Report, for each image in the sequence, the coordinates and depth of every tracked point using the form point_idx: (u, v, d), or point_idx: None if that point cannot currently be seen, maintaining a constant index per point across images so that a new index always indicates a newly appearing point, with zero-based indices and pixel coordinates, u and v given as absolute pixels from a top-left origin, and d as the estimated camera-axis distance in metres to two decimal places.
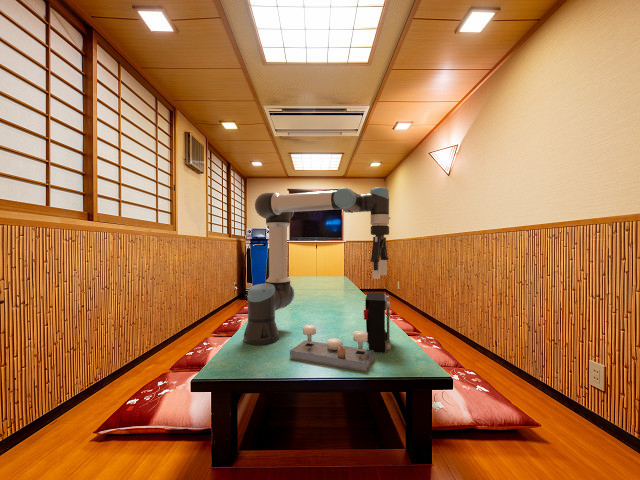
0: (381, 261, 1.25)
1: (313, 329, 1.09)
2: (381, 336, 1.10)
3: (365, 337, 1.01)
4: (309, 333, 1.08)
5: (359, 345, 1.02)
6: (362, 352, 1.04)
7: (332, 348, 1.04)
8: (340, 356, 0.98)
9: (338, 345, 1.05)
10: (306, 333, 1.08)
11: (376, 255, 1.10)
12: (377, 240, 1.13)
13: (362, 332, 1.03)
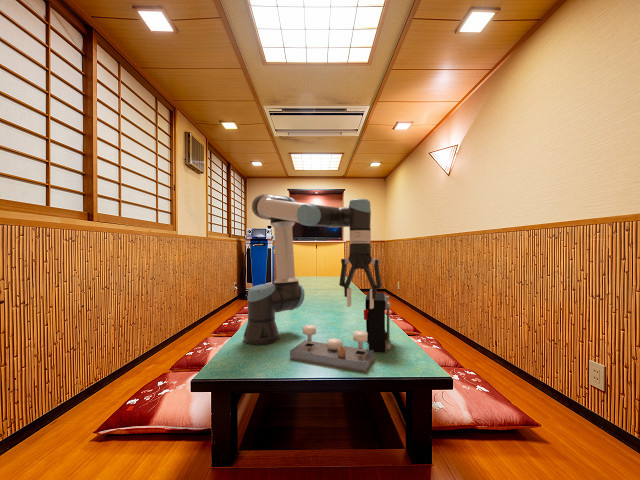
0: None
1: (313, 329, 1.09)
2: (381, 336, 1.10)
3: (365, 337, 1.01)
4: (309, 333, 1.08)
5: (359, 345, 1.02)
6: (362, 352, 1.04)
7: (332, 348, 1.04)
8: (340, 356, 0.98)
9: (338, 345, 1.05)
10: (306, 333, 1.08)
11: None
12: None
13: (362, 332, 1.03)
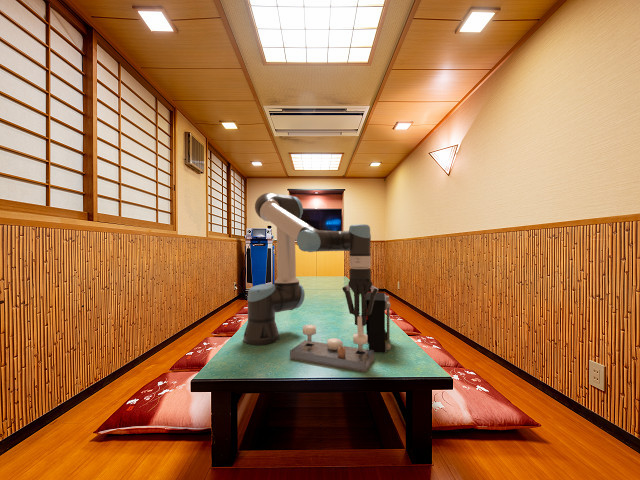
0: None
1: (313, 329, 1.09)
2: (381, 336, 1.10)
3: (365, 339, 1.01)
4: (309, 333, 1.08)
5: (359, 347, 1.02)
6: (362, 352, 1.04)
7: (332, 348, 1.04)
8: (340, 356, 0.98)
9: (338, 345, 1.05)
10: (306, 333, 1.08)
11: None
12: None
13: None
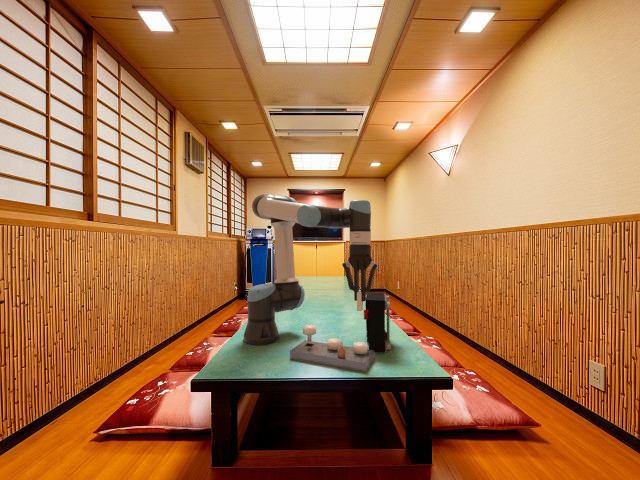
0: None
1: (313, 329, 1.09)
2: (381, 336, 1.10)
3: (365, 349, 1.01)
4: (309, 333, 1.08)
5: None
6: None
7: (332, 348, 1.04)
8: (340, 356, 0.98)
9: (338, 345, 1.05)
10: (306, 333, 1.08)
11: None
12: None
13: (362, 343, 1.03)
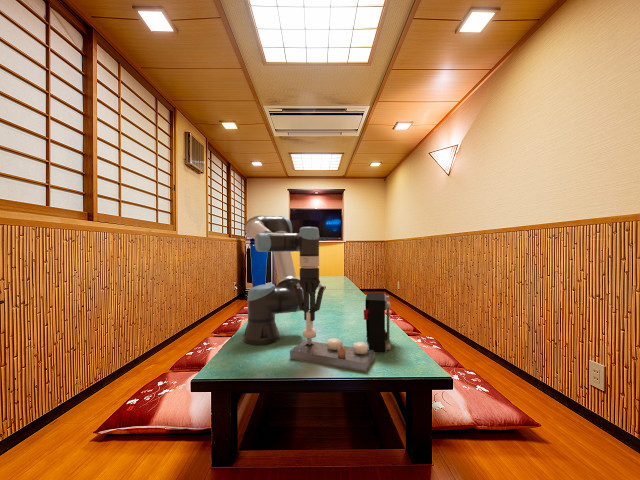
0: None
1: (313, 332, 1.09)
2: (381, 336, 1.10)
3: (365, 349, 1.01)
4: (309, 336, 1.08)
5: None
6: None
7: (332, 348, 1.04)
8: (340, 356, 0.98)
9: (338, 345, 1.05)
10: (306, 336, 1.08)
11: None
12: None
13: (362, 343, 1.03)
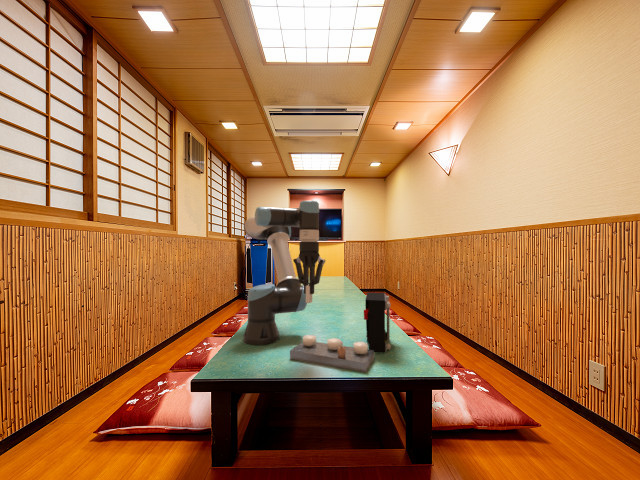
0: None
1: (313, 340, 1.09)
2: (381, 336, 1.10)
3: (365, 349, 1.01)
4: (309, 344, 1.08)
5: None
6: None
7: (332, 348, 1.04)
8: (340, 356, 0.98)
9: (338, 345, 1.05)
10: (306, 344, 1.08)
11: None
12: None
13: (362, 343, 1.03)
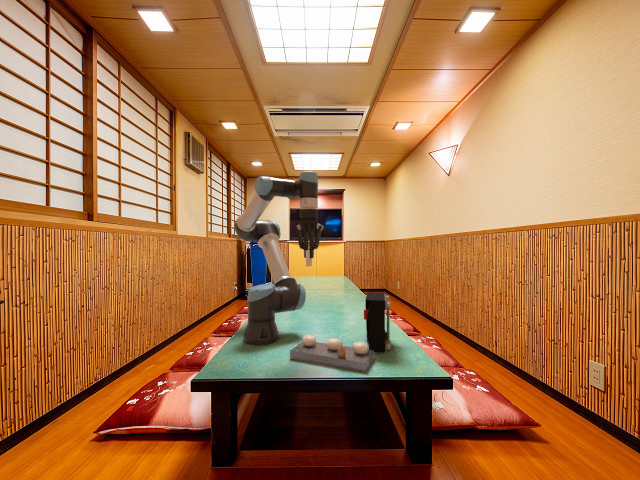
0: None
1: (313, 340, 1.09)
2: (381, 336, 1.10)
3: (365, 349, 1.01)
4: (309, 344, 1.08)
5: None
6: None
7: (332, 348, 1.04)
8: (340, 356, 0.98)
9: (338, 345, 1.05)
10: (306, 344, 1.08)
11: None
12: None
13: (362, 343, 1.03)
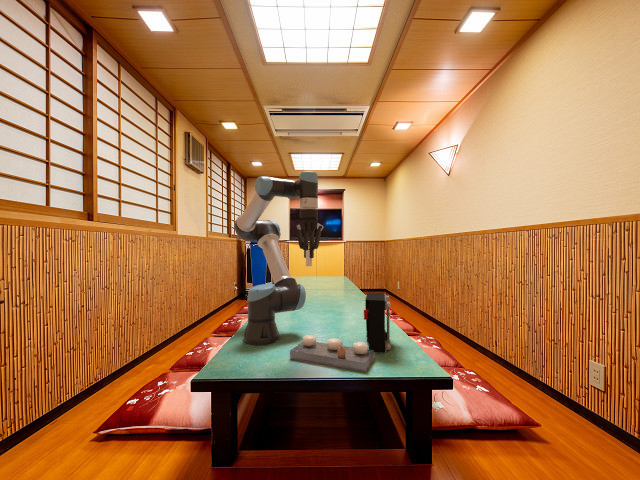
0: None
1: (313, 340, 1.09)
2: (381, 336, 1.10)
3: (365, 349, 1.01)
4: (309, 344, 1.08)
5: None
6: None
7: (332, 348, 1.04)
8: (340, 356, 0.98)
9: (338, 345, 1.05)
10: (306, 344, 1.08)
11: None
12: None
13: (362, 343, 1.03)
